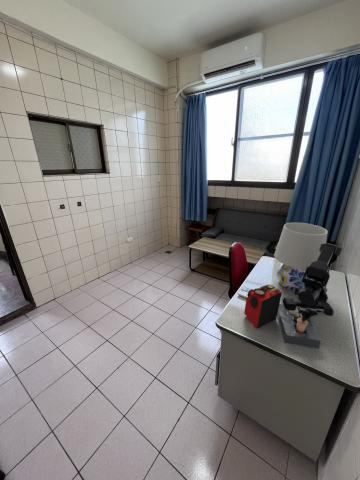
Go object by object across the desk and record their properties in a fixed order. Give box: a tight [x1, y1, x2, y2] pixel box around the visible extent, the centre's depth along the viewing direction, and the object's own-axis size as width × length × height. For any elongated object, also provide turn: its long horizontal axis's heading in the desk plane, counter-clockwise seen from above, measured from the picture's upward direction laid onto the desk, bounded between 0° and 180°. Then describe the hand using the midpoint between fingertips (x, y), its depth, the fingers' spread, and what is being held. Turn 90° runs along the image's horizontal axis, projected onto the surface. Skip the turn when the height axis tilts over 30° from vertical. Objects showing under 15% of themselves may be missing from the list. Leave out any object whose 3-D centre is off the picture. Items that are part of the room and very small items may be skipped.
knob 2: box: [295, 318, 308, 333], centre depth 93 cm, size 4×4×6 cm
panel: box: [276, 303, 322, 350], centre depth 100 cm, size 14×22×5 cm, turn 168°
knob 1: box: [289, 308, 298, 315], centre depth 106 cm, size 4×4×6 cm
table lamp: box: [273, 222, 328, 291], centre depth 128 cm, size 27×27×40 cm
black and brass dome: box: [293, 313, 301, 322], centre depth 99 cm, size 3×3×4 cm
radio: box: [243, 284, 283, 330], centre depth 103 cm, size 16×10×20 cm, turn 118°
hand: (302, 320), depth 92 cm, fingers closed
